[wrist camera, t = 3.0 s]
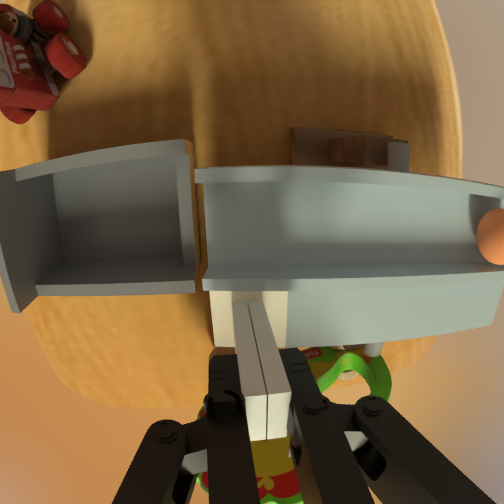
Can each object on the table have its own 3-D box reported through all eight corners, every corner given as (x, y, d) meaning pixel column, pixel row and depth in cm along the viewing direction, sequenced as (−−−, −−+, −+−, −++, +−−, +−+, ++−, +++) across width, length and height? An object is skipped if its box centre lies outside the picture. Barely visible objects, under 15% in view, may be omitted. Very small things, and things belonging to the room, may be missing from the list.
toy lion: (355, 306, 25) (452, 429, 10) (356, 351, 26) (428, 468, 12) (183, 347, 24) (167, 506, 10) (201, 388, 26) (200, 529, 12)
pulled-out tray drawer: (48, 165, 18) (-17, 176, 10) (194, 143, 19) (177, 135, 11) (63, 267, 20) (12, 312, 13) (200, 260, 22) (192, 315, 14)
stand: (291, 128, 19) (321, 117, 13) (386, 136, 20) (437, 135, 14) (289, 315, 24) (309, 363, 18) (371, 305, 25) (406, 344, 19)
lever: (208, 138, 14) (193, 134, 11) (507, 166, 13) (537, 171, 10) (221, 349, 18) (214, 383, 15) (474, 330, 17) (494, 352, 14)
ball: (479, 200, 13) (480, 206, 11) (522, 211, 11) (530, 218, 9) (472, 250, 14) (470, 264, 12) (513, 261, 12) (518, 277, 10)
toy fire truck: (59, -2, 12) (2, -47, 3) (100, 85, 16) (22, 46, 7) (5, 47, 13) (-63, 25, 3) (37, 140, 17) (-53, 143, 7)
